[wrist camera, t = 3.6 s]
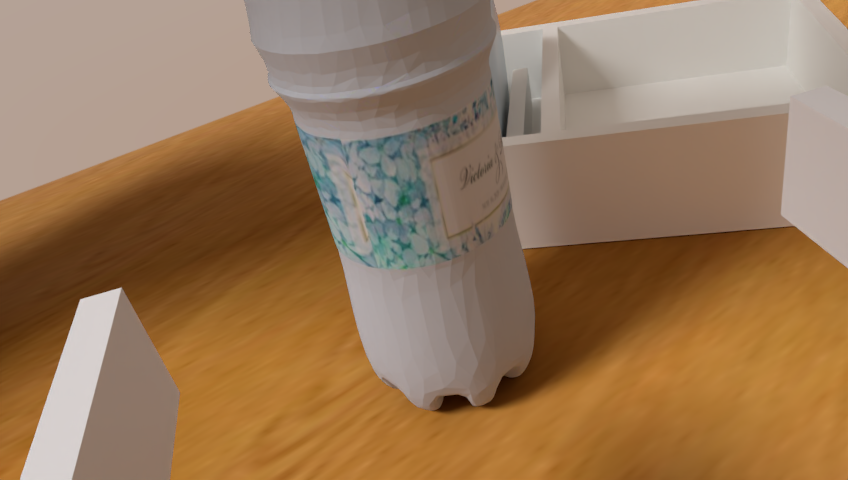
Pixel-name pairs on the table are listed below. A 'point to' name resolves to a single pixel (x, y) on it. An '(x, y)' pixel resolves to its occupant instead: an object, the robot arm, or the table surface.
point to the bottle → (410, 182)
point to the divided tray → (657, 116)
